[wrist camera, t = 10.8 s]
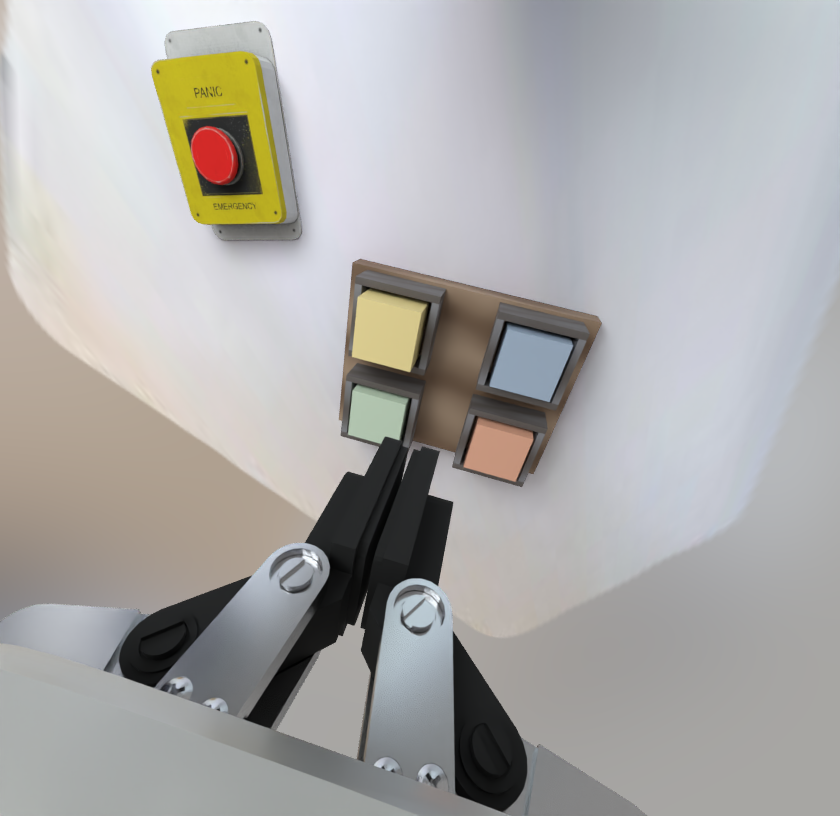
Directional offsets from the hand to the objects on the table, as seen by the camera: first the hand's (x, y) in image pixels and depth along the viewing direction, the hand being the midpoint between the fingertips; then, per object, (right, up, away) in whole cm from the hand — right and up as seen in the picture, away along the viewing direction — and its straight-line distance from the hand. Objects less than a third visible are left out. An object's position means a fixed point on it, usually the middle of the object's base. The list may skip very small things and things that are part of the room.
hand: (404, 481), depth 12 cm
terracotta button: (+8, 0, +27) cm, 29 cm away
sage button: (-3, +3, +28) cm, 29 cm away
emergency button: (-15, +25, +22) cm, 37 cm away
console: (+4, +6, +27) cm, 28 cm away
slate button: (+10, +7, +23) cm, 26 cm away
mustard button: (-2, +10, +22) cm, 25 cm away
